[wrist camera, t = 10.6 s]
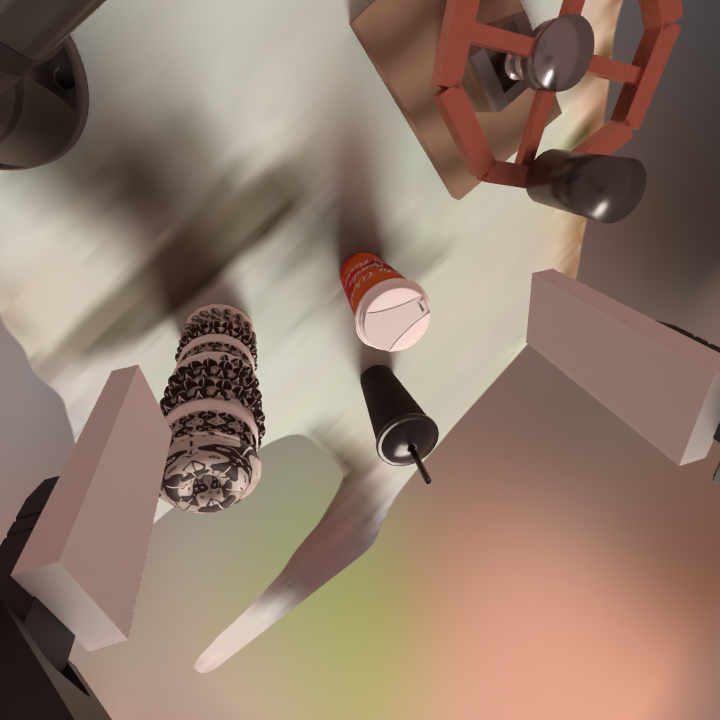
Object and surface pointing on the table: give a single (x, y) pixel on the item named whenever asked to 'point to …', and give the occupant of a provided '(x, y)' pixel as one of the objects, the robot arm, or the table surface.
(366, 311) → the paper cup
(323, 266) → the table surface
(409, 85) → the brown block
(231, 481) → the decorative candle
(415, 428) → the drinking cup
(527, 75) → the handwheel
